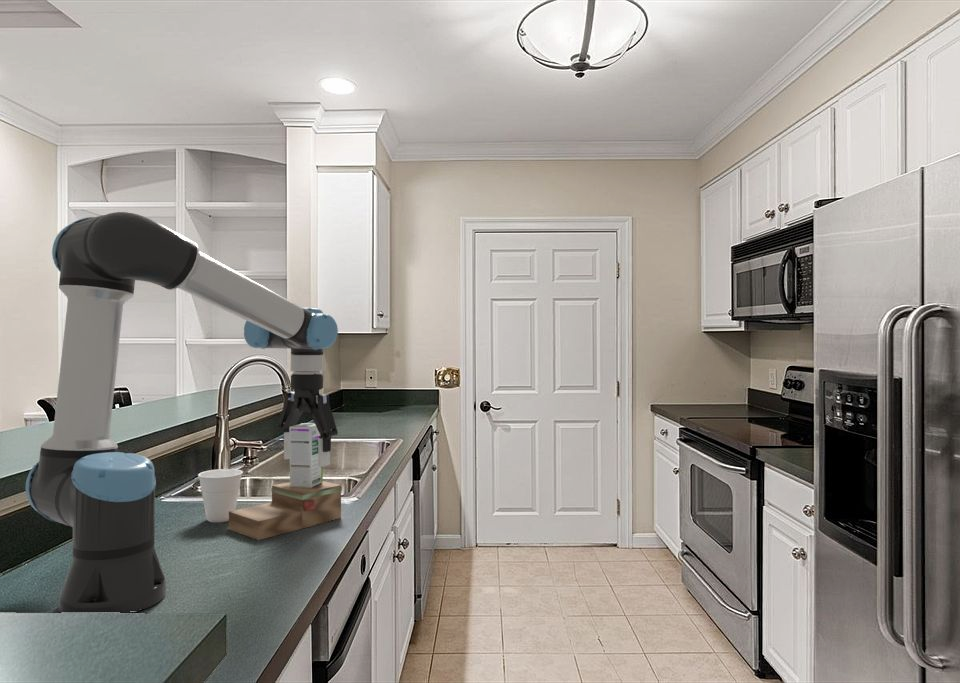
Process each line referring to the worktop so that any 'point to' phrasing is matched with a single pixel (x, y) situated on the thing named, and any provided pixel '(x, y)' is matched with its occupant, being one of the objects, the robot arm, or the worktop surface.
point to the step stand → (288, 510)
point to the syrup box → (304, 456)
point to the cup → (220, 492)
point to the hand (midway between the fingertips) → (306, 462)
